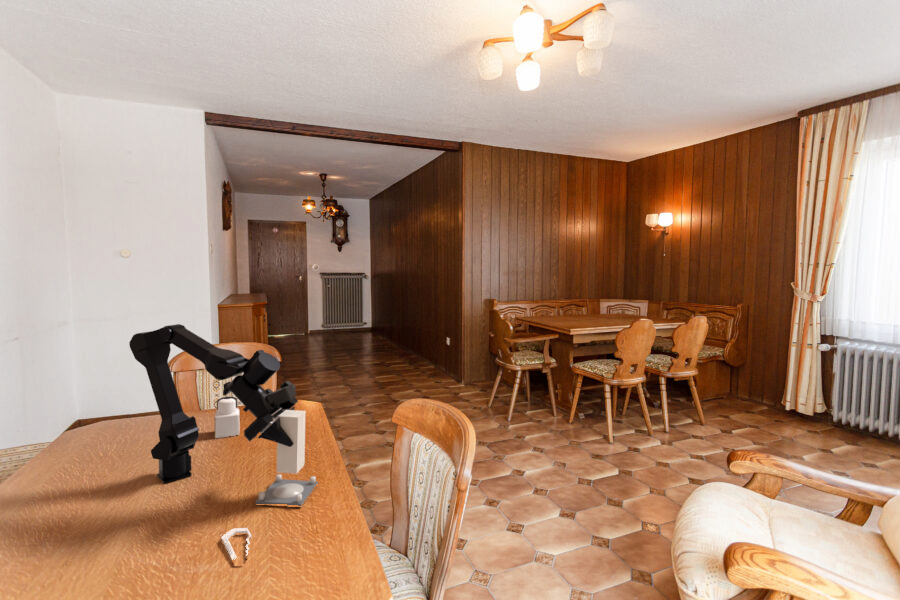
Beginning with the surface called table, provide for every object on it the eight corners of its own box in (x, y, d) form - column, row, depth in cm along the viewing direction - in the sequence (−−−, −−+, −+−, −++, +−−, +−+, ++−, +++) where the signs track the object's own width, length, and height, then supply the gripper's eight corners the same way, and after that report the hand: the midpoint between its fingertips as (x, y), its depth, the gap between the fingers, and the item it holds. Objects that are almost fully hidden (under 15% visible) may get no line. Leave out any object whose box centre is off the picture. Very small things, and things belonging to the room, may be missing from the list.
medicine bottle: (216, 431, 150) (215, 396, 149) (239, 428, 153) (239, 394, 152) (214, 438, 143) (214, 402, 142) (239, 435, 146) (239, 400, 145)
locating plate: (301, 508, 104) (301, 497, 104) (255, 505, 105) (255, 494, 104) (318, 485, 115) (318, 475, 115) (276, 482, 116) (276, 473, 115)
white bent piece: (263, 563, 86) (263, 555, 86) (235, 574, 83) (235, 566, 83) (244, 528, 96) (244, 521, 96) (218, 537, 93) (218, 529, 92)
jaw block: (296, 473, 108) (297, 417, 107) (276, 472, 108) (277, 416, 107) (304, 464, 113) (305, 410, 112) (285, 463, 113) (286, 409, 112)
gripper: (257, 383, 100) (305, 433, 100) (290, 365, 119) (331, 407, 119) (223, 416, 101) (270, 465, 101) (262, 393, 119) (302, 435, 120)
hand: (296, 441), depth 110 cm, fingers closed on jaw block, 5 cm apart
